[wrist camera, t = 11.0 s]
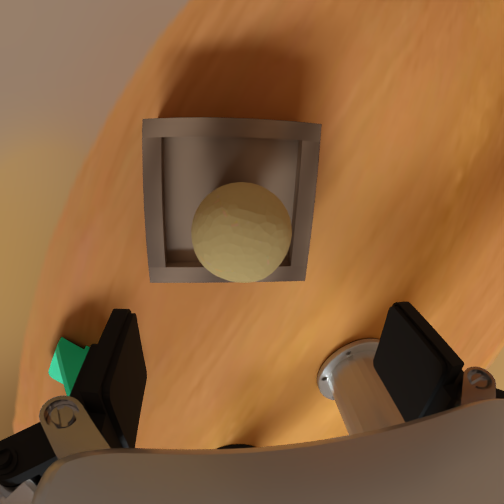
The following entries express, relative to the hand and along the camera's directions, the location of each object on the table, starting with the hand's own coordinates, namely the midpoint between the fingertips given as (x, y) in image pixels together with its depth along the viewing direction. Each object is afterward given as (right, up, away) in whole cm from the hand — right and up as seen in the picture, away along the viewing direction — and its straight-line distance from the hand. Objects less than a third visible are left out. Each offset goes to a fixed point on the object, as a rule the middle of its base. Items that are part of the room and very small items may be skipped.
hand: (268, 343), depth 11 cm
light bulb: (-2, +7, +16) cm, 18 cm away
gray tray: (-3, +10, +21) cm, 24 cm away
